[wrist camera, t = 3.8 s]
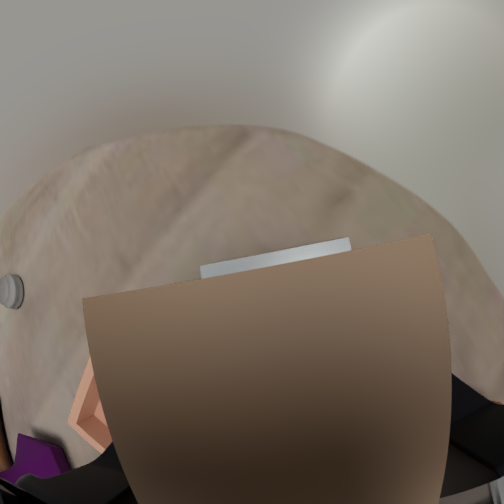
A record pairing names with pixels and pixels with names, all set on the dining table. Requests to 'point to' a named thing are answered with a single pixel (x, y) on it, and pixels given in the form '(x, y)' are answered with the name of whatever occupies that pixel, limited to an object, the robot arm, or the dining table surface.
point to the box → (90, 412)
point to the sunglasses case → (4, 452)
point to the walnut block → (282, 381)
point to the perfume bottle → (36, 460)
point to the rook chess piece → (11, 291)
